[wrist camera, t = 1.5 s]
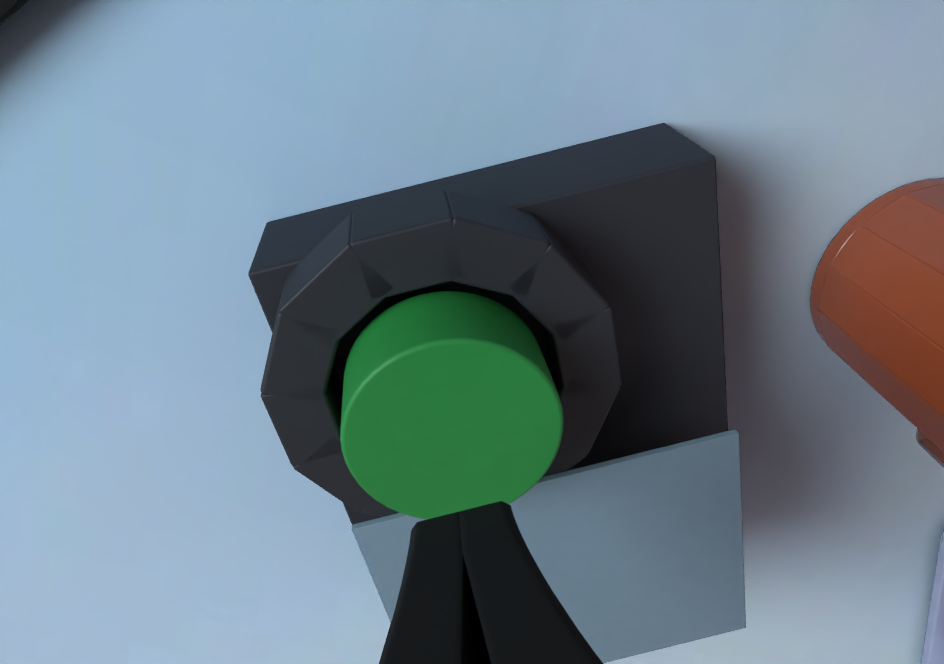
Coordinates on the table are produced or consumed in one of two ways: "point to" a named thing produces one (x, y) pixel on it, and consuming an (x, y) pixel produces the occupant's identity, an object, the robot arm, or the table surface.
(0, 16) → the mouse mat
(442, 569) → the robot arm
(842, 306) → the mug
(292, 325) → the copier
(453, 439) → the button
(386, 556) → the plate
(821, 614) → the table surface
